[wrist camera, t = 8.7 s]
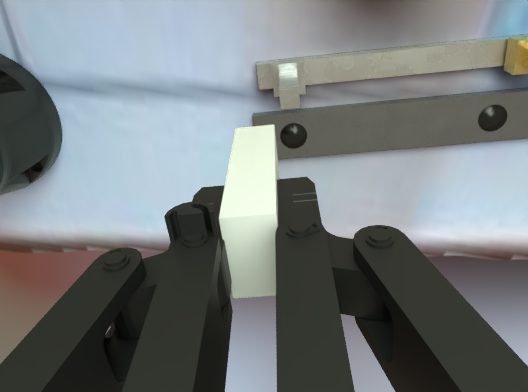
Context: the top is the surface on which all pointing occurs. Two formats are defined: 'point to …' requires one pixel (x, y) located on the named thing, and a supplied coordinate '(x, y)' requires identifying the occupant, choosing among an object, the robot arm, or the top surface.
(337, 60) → the rail
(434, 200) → the top surface
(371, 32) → the top surface
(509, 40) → the slider
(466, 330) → the robot arm
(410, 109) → the hole plate
